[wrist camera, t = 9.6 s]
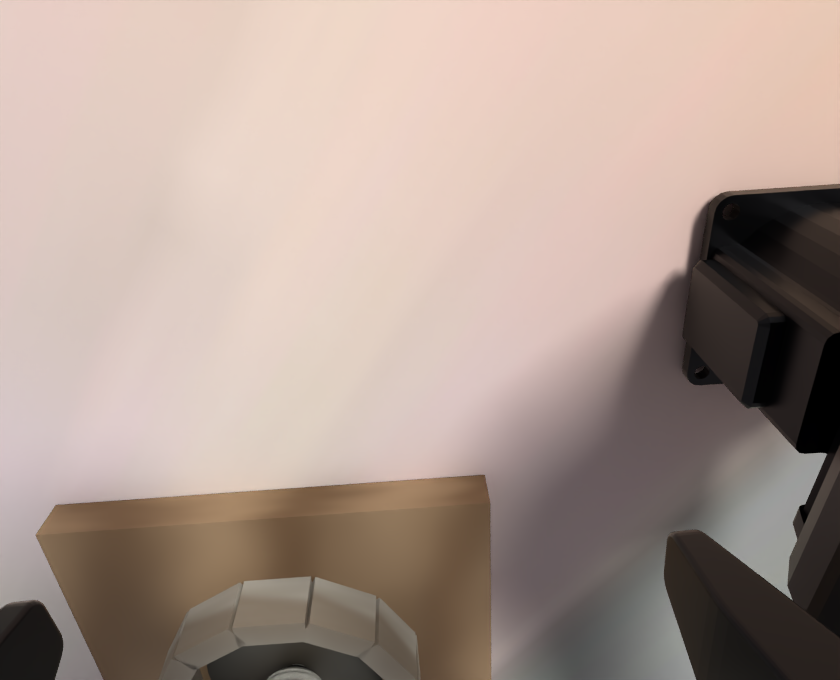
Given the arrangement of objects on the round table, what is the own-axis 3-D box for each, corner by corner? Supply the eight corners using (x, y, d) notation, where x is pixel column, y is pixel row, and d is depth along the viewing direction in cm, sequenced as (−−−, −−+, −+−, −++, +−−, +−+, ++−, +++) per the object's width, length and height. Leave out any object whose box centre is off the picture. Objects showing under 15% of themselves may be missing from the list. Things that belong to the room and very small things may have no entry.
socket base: (484, 475, 23) (498, 546, 20) (487, 726, 31) (497, 806, 28) (55, 505, 23) (4, 581, 20) (163, 750, 31) (137, 833, 28)
